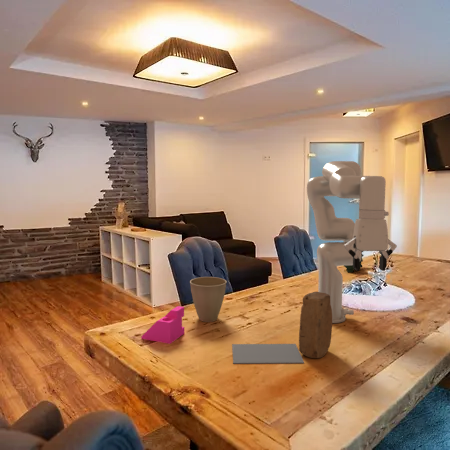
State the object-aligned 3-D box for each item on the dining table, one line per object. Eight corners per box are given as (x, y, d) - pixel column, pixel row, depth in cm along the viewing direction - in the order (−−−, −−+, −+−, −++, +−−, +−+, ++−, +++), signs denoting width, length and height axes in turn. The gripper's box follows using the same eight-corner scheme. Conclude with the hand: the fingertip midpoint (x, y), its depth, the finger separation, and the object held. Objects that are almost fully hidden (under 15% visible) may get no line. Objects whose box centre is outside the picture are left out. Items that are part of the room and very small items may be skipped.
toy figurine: (352, 269, 259) (338, 272, 239) (353, 240, 258) (340, 242, 238) (366, 270, 253) (353, 274, 233) (368, 242, 253) (355, 243, 233)
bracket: (184, 333, 145) (184, 306, 144) (170, 344, 135) (169, 315, 134) (157, 329, 149) (156, 303, 148) (141, 338, 140) (140, 311, 139)
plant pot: (197, 327, 150) (197, 287, 148) (185, 315, 164) (185, 278, 162) (232, 322, 156) (232, 283, 154) (218, 311, 170) (218, 275, 168)
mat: (295, 344, 134) (295, 343, 134) (304, 363, 120) (304, 362, 120) (232, 345, 134) (232, 344, 134) (233, 363, 120) (233, 362, 120)
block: (315, 361, 121) (319, 299, 119) (295, 353, 126) (298, 294, 124) (333, 352, 128) (337, 293, 126) (314, 344, 134) (317, 288, 132)
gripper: (393, 214, 126) (391, 267, 128) (340, 214, 126) (338, 267, 128) (404, 216, 119) (401, 272, 121) (347, 216, 119) (346, 272, 121)
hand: (369, 269), depth 125 cm, fingers open, 7 cm apart
